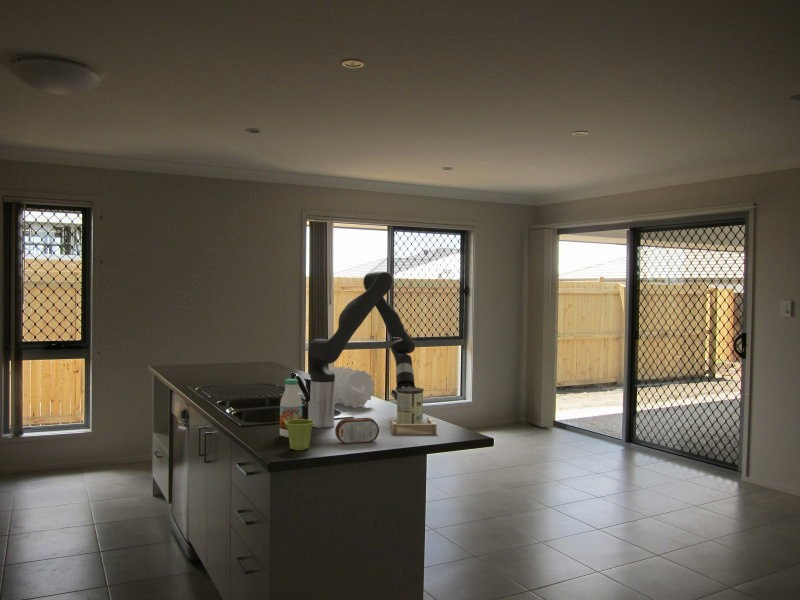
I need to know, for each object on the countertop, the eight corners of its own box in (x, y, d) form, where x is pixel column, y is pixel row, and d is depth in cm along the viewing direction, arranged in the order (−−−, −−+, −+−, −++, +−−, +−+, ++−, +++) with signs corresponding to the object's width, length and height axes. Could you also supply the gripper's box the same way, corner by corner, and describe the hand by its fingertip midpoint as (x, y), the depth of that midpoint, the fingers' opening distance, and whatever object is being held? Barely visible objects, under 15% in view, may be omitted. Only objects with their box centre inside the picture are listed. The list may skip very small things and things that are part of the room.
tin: (377, 440, 225) (377, 416, 225) (379, 442, 222) (380, 418, 222) (334, 443, 220) (335, 418, 220) (336, 445, 217) (337, 420, 217)
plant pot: (284, 452, 206) (285, 424, 206) (284, 445, 215) (285, 419, 215) (314, 451, 207) (314, 424, 207) (313, 444, 217) (313, 418, 217)
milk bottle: (277, 434, 233) (278, 378, 233) (298, 432, 236) (299, 377, 236) (282, 438, 226) (283, 381, 226) (304, 437, 229) (304, 380, 229)
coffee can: (401, 421, 260) (401, 386, 260) (425, 423, 257) (426, 388, 257) (392, 426, 251) (393, 389, 251) (418, 428, 247) (418, 391, 247)
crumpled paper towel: (339, 409, 310) (369, 414, 290) (310, 396, 300) (339, 400, 281) (352, 373, 315) (383, 376, 296) (324, 359, 306) (354, 361, 286)
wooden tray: (389, 426, 249) (389, 417, 249) (431, 426, 251) (431, 417, 251) (392, 434, 236) (392, 424, 236) (436, 434, 237) (436, 424, 237)
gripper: (389, 370, 270) (391, 405, 258) (421, 371, 271) (424, 405, 259) (388, 381, 275) (390, 416, 263) (419, 382, 276) (422, 416, 264)
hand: (407, 410), depth 261 cm, fingers closed
